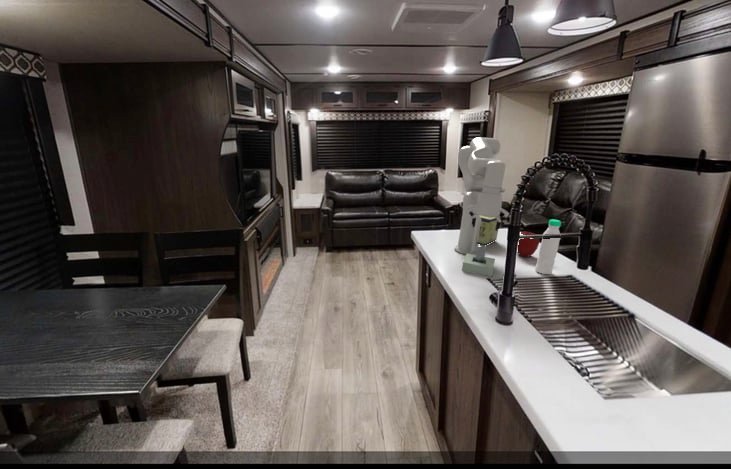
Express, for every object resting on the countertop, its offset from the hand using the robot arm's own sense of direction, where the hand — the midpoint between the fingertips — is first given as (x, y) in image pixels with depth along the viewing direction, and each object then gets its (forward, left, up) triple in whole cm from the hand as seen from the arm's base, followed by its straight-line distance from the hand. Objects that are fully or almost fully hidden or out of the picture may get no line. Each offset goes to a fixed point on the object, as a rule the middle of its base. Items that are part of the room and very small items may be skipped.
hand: (484, 228), depth 151 cm
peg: (0, 0, -19) cm, 19 cm away
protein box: (-44, -2, -20) cm, 48 cm away
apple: (-32, +20, -20) cm, 42 cm away
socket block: (0, 0, -19) cm, 19 cm away
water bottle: (-12, +28, -20) cm, 36 cm away
